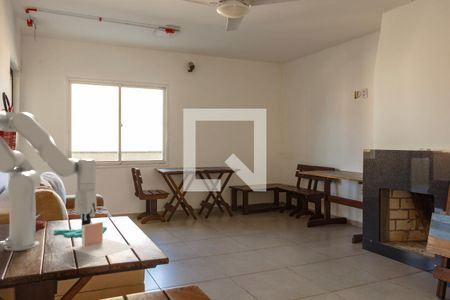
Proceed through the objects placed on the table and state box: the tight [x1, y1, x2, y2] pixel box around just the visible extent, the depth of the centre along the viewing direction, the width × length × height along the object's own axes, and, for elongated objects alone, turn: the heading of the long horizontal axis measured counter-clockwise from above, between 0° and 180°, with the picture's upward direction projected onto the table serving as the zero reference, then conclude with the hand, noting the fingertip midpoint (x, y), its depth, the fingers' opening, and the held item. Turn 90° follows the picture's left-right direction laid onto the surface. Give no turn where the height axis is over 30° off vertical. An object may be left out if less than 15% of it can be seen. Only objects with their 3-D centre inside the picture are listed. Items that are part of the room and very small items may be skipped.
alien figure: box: [53, 226, 108, 238], centre depth 171 cm, size 20×2×20 cm
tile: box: [81, 221, 104, 247], centre depth 150 cm, size 9×2×9 cm, turn 145°
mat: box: [69, 238, 135, 259], centre depth 146 cm, size 18×20×1 cm
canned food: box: [36, 211, 47, 230], centre depth 180 cm, size 11×10×10 cm
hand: (86, 228), depth 153 cm, fingers closed
